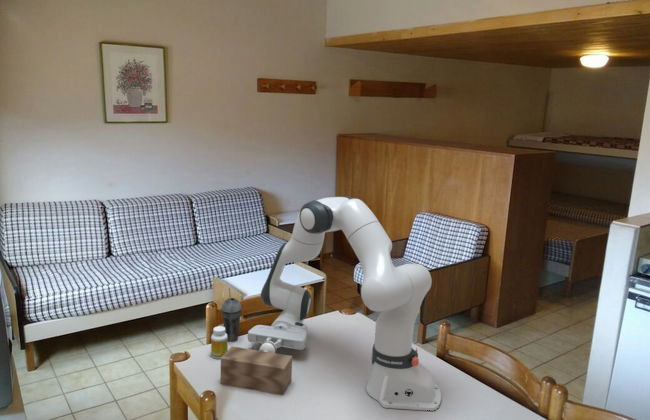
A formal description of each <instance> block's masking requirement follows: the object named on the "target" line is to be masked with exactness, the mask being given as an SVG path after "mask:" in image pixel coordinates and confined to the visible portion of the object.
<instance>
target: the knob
mask: <svg viewBox="0 0 650 420" xmlns="http://www.w3.org/2000/svg"><path fill="white" fill-rule="evenodd" d="M277 350H278V348H277V347H276V345H275V344H274V343H273V342H272V341H265V342H264V343H263V344H260V346H259V349H258V351H264V352H270V353H276V354H277Z"/></svg>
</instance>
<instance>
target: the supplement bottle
mask: <svg viewBox="0 0 650 420" xmlns="http://www.w3.org/2000/svg"><path fill="white" fill-rule="evenodd" d="M212 330H213V333H212V334H211V337H210V342H211V343H210V345H211V346H210V352H211V353H210V354H211V357H212V358H213V359H216V360H221V357H222V356H223V355H224V354H225V353H226V352H227V351H228V350H229V349H228V344H229V342H228V336H227V334H226V333H225V327H224V325H223V326H221V325H217V326H215V327H213V329H212Z"/></svg>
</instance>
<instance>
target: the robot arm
mask: <svg viewBox="0 0 650 420" xmlns="http://www.w3.org/2000/svg"><path fill="white" fill-rule="evenodd" d="M340 230H341V232H343V234H344V235H345V238H346V240H347V242H348V243H349V244H350V246H351V248H352V250H353V251H354V254H355V255H356V257H357V259H358V261H359V263H360V265H361V266H360V267H361V269H362V275H363V281H362V284H361V286H360V287H361V288H360V296H361V300H362V301H363V304H364V305H365V306H366V307H367V309H369V310H370V311H372V312H377V313H378V312H381V313H380V314H379V315H378V317H377V319H376V322H375V329H374V330H375V332H374V343H373V345H372V349H371V364H372V365H371V369H370V374H369V377H368V380H367V383H366V386H365V391H366V392H367V394H368V395H369V396H370V397H371V398H372V399H374V400H375V401H377V402H378V404H380V406H381V407H383V408H385V409H399V410H411V411H412V410H413V411H414V410H415V411H426V412H427V410H428V411H429V410H430V411H431V412H435V411H436V410H438V409H437V408H440V406H441V404H440V403H442V391H441V389H440V387H439V386H438V384H436V383H435V380H434V376H433V374H432V372H431V370H430V369H428V368H427V367H426V366H425V365H423V364H422V363H421V362H419V361H420V359H419V353H418V348H415V349H414V348H413V338H414V328H415V324H416V320H417V317H418V314H419V311H420V308H421V306H422V303H423V301H424V298H425V297H426V295H427V294H428V292H429V291H430V289H431V288H432V281H433V280H432V276H431V273H430V271H429V269H428V268H426V266H424V265H422V264H420V263H404V264H402V265H398V266H395V265H394V263H393V260H392V257H391V251H392V249H393V243H392V242H393V241H392V239H390V237H389V235H388V234H387V232H386V230H385V229H384V227H383V225H382V224H381V223H380V221H379V219H378V218H377V216H376V215H375V213H373V211H372V210H371V209H370V208H369V207H368V205H367V204H366V203H365V202H364V201H363V200H361V199H360V198H354V197H352V196H350V195H349V196H348V195H341V196H334V197H330V196H329V197H323V198H320V199H317V200H314V199H313V200H310V201H308V202H306V203H305V204H303V205H302V206H301V207H300V210H299V212H298V215H297V217H296V219H295V222H294V225H293V229H292V234H291V238H290V239H289V240H288V242H287V241H286V242H283V243H282V245H281V246H280V248H279V249H278V251H277V253H276V255H275V258H274V260H273V263H272V265H271V268H270V271H269V273H268V276H267V278H266V280H265V282H264V285H263V286H262V289H261V291H260V298H261V301H262V302H263V304H264V305H265V306H268V307H272V308H273V307H274V308H277V309H280V310H283V311H281V312H280V314H279V316H278V317H277V318H276V319H274V321H273V323H272V324H271V325H263V324H257V325H255V326H253V327H252V328H251V329H249V330H248V331H247V341H248V342H249V343H255V344H260V345H262V344H263V343H264V342H265V341H272V342H273V343H274V344H275V345H276V347H277V349H279V348H286V349H292V350H293V349H294V350H300V351H301V350H305V348H306V346H307V338H308V327H307V324H304V321H305V319H306V318H307V316H308V314H309V313H310V310H311V307H312V301H313V299H312V295H311V293H310V291H309V290H308V289H307V288H305V287H301V286H298V285H295V284H292V283H289V282H286V281H283V280H282V279H281V276H282V273H283V271H284V268H285V267H286V264H289V263H301V262H302V263H305V262H308V261H312V260H314V259H315V258H317V257H318V256H319V255H320V254H321V251H322V248H323V246H324V242H325V235H326V233H329V232H330V233H331V232H337V231H340ZM439 405H440V406H439ZM434 410H435V411H434ZM430 411H429V412H430Z"/></svg>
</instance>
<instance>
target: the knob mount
mask: <svg viewBox="0 0 650 420" xmlns="http://www.w3.org/2000/svg"><path fill="white" fill-rule="evenodd" d="M292 369H293V355H288V354H281V353H277V352H276V353H270V352H264V351H259V349H258V350H257V349H252V348H251V349H250V348H245V347H244V348H243V347H239V346H234V345H233V346H230V347H229V349H228V351H227V352H226V353H225V354H224V355H223V356H222V357H221V359H220V385H225V386H230V387H236V388H240V389H242V388H243V389H248V390H253V391H258V392H263V393H269V394H275V395H280V396H284V395H285V393H286V391H287V389H288V388H289V386H290V384H291V383H292V379H293V378H292V374H293V373H292V372H293V370H292Z"/></svg>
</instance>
